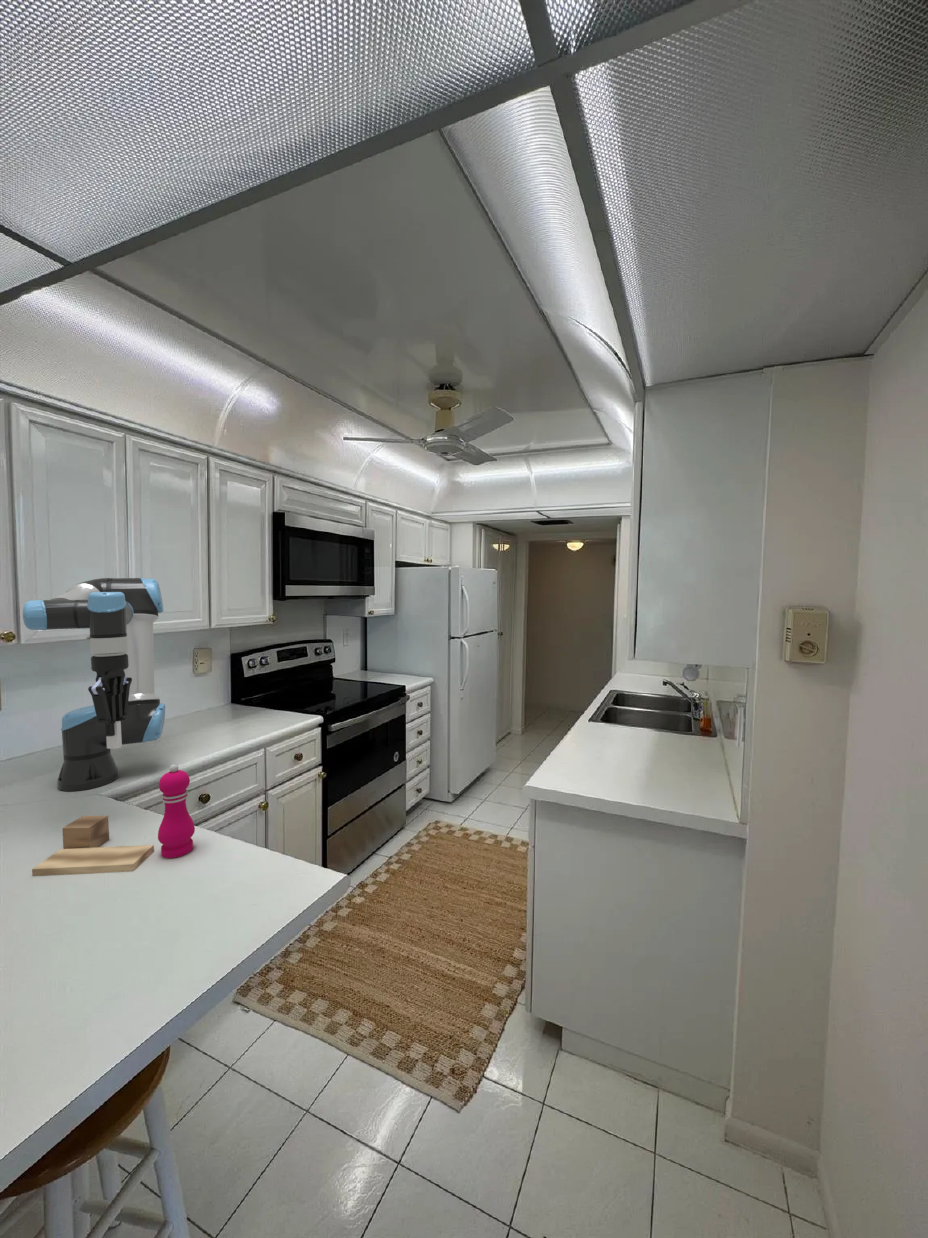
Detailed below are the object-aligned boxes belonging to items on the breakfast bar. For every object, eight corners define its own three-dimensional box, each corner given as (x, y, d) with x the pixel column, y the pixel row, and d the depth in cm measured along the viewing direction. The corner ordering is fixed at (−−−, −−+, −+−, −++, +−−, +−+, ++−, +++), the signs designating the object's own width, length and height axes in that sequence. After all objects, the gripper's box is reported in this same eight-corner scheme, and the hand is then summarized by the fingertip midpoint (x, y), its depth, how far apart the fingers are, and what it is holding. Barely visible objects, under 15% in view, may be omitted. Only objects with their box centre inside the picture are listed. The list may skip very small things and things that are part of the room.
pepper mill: (202, 843, 115) (199, 759, 114) (181, 860, 108) (177, 770, 107) (173, 842, 116) (169, 758, 115) (150, 859, 109) (146, 769, 108)
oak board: (60, 857, 111) (60, 849, 110) (154, 853, 112) (153, 844, 112) (32, 878, 103) (32, 869, 103) (133, 873, 104) (132, 864, 104)
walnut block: (84, 840, 117) (82, 816, 117) (109, 840, 117) (108, 815, 117) (63, 854, 111) (62, 828, 111) (90, 853, 111) (88, 827, 111)
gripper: (111, 650, 129) (116, 739, 130) (74, 658, 116) (80, 756, 117) (141, 650, 129) (145, 739, 131) (107, 657, 116) (112, 756, 118)
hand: (114, 747), depth 124 cm, fingers closed
